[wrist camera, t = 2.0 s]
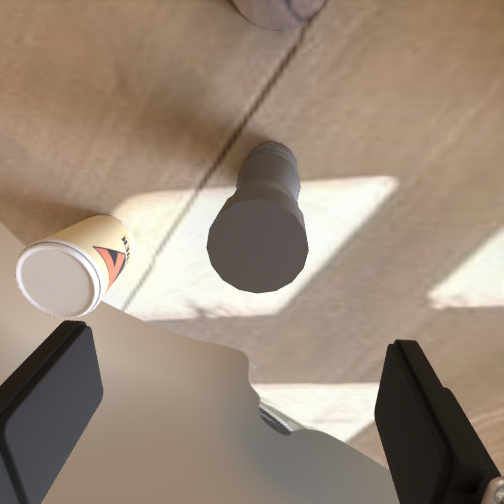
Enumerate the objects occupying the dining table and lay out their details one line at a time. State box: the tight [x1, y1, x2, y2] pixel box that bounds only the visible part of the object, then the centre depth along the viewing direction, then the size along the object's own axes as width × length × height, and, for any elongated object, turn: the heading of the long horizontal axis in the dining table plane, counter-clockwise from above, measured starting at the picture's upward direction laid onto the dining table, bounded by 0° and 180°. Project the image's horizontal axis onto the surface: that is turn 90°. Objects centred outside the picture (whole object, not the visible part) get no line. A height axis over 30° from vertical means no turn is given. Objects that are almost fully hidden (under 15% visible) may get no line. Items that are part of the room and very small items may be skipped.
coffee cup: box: [15, 215, 134, 318], centre depth 43 cm, size 9×9×12 cm
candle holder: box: [207, 142, 309, 293], centre depth 31 cm, size 6×6×25 cm
